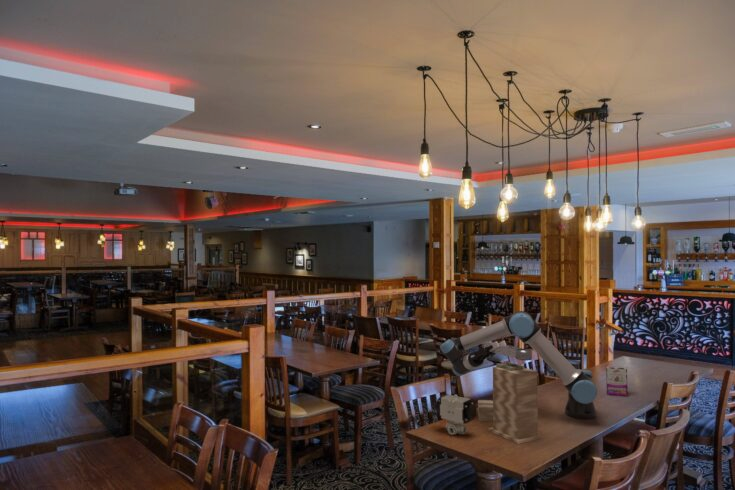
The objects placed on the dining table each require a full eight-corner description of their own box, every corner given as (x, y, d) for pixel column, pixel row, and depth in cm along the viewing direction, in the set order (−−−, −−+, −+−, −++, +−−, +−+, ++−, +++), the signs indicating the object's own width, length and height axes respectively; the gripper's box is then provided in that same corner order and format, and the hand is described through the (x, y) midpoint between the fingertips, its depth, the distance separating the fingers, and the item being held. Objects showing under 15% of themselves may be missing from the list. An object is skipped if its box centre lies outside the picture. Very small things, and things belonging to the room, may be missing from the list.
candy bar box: (626, 394, 297) (626, 366, 298) (627, 396, 293) (627, 368, 293) (606, 392, 302) (605, 365, 302) (606, 394, 297) (606, 367, 297)
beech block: (478, 412, 265) (478, 399, 266) (497, 413, 263) (497, 400, 264) (478, 420, 252) (478, 407, 252) (499, 421, 250) (499, 408, 250)
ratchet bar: (482, 350, 247) (482, 342, 248) (493, 349, 251) (492, 341, 251) (524, 361, 223) (523, 352, 223) (535, 359, 227) (535, 350, 227)
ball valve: (434, 431, 237) (433, 393, 237) (443, 426, 243) (443, 389, 244) (468, 440, 225) (467, 400, 226) (477, 435, 232) (476, 396, 232)
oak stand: (488, 430, 237) (488, 363, 238) (512, 425, 244) (511, 360, 245) (518, 444, 221) (517, 371, 221) (542, 437, 228) (542, 368, 228)
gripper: (488, 365, 261) (517, 349, 243) (462, 369, 253) (490, 352, 235) (483, 351, 264) (511, 334, 247) (458, 354, 256) (484, 337, 238)
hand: (501, 343), depth 241 cm, fingers closed on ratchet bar, 4 cm apart
